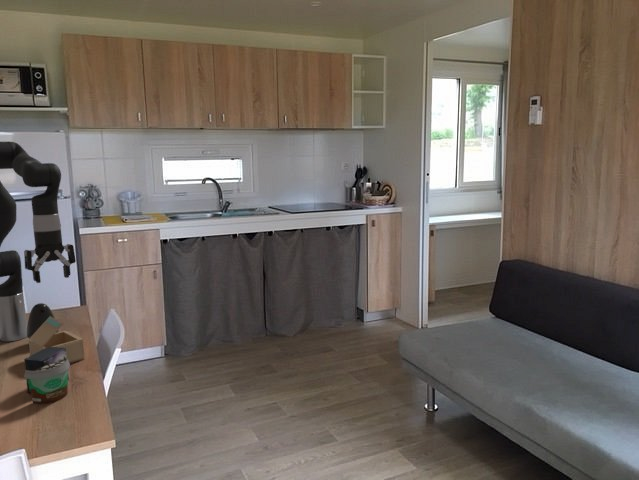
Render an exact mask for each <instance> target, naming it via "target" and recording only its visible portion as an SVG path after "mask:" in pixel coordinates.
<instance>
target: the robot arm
mask: <svg viewBox="0 0 639 480" xmlns="http://www.w3.org/2000/svg"><path fill="white" fill-rule="evenodd" d="M9 169H10V170H11V169H13V171H14V173H15V174H16V175H18V176H19V177H21V178H22V181H23V184H25V186H26V187H30V188H41V187H43V188H45V187H46V190H45V191H44V192H43V193H40V194H37V195H34V196H32V198H31V209H32V226H33V237H34V246H35V247H34V249H30V250H29V249H25V250H24V251H23V253H24V269H25V270H27V271H31V272H32V280H33V281H34V282H35V283H37V284H41V280H42V279H41V273H40V268H41V267H42V266H43V265H44V263H49V262H52V261H53V262H55V261H59V262H60V263H62V264H63V265H62V269H63V277H64V278H66V279H68V278H70V276H71V265H72V264H75V263H76V254H75V249H74V245H73V244H69V243H67V244H66V245H65V244H64V245H63V238H62V237H63V236H62V228H61V227H62V223H61V219H60V215H59V207H58V205H59V204H58V197H59V196H58V195H59V190H60V186H61V180H62V172H61V169H60V167H59V166H58V164H55V163H51V162H48V163H47V162H46V163H43V162H41V161H39V159H36V158H34V157H32V156H30V155H29V154H28V152H27V151H26V150H25V149H24V147H22V145H20V144H19V143H17V142H15V141H0V170H9ZM16 222H17V202H16V200H15V199H14V197H13V196H12V194H10V192H9V191H8V190H7V188H6V187H5V186H4V184H3V183H2V182H1V180H0V248H1V246H2V244H3V242H4V240H5V239H6V237H7V236H8V234H10V232H11V231H12V229H13V228H14V226H15V224H16ZM64 251H65V252H67V256H68V257H67V258H68V259H67V258H66V257H65V256H64V254H63V253H64ZM34 255H36V256H37V257H36V259H35V261H34V263H33V259H32V258H33V257H34ZM21 259H22V258H21V255H20V254H19V252H18V251H17V250H13V249H12V250H11V249H10V250H6V251H5V250H4V251H0V278H3V277H8V278H7V279H6V280H5V281H4V282H2V283H1V284H0V341H1V342H15V341H20V340H23V339H25V338H28V337H27V326H28V320H27V313H26V307H25V306H26V304H25V298H24V289H23V288H24V287H23V283H24V282H23V274H22V273H23V272H22V270H23V269H22V260H21Z"/></svg>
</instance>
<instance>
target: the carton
mask: <svg viewBox="0 0 639 480" xmlns="http://www.w3.org/2000/svg"><path fill="white" fill-rule="evenodd" d="M27 341H28V347H29V356H31V355H33V354H35V353H37V352H39V351H41V350H43V349H45V348H47V347H60V348H66V355H67V359H68V361H69V364H70V365H71V364H72V363H76V362H80V361H83V360H85V350H84V339H83V338H82V337H80V336H78V335H76V334H74V333H73V332H70V331H67V330H63V331H62V330H61V331H59V332H58V333H55V334H54V335H53V336H52V337H51V339H50V340H49V341H48V342H47V343H46V344H45V345H44V346H43V347H41V346H40V345H38V344H37V343H35V342H33V341H32V340H29V339H28V340H27Z"/></svg>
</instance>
